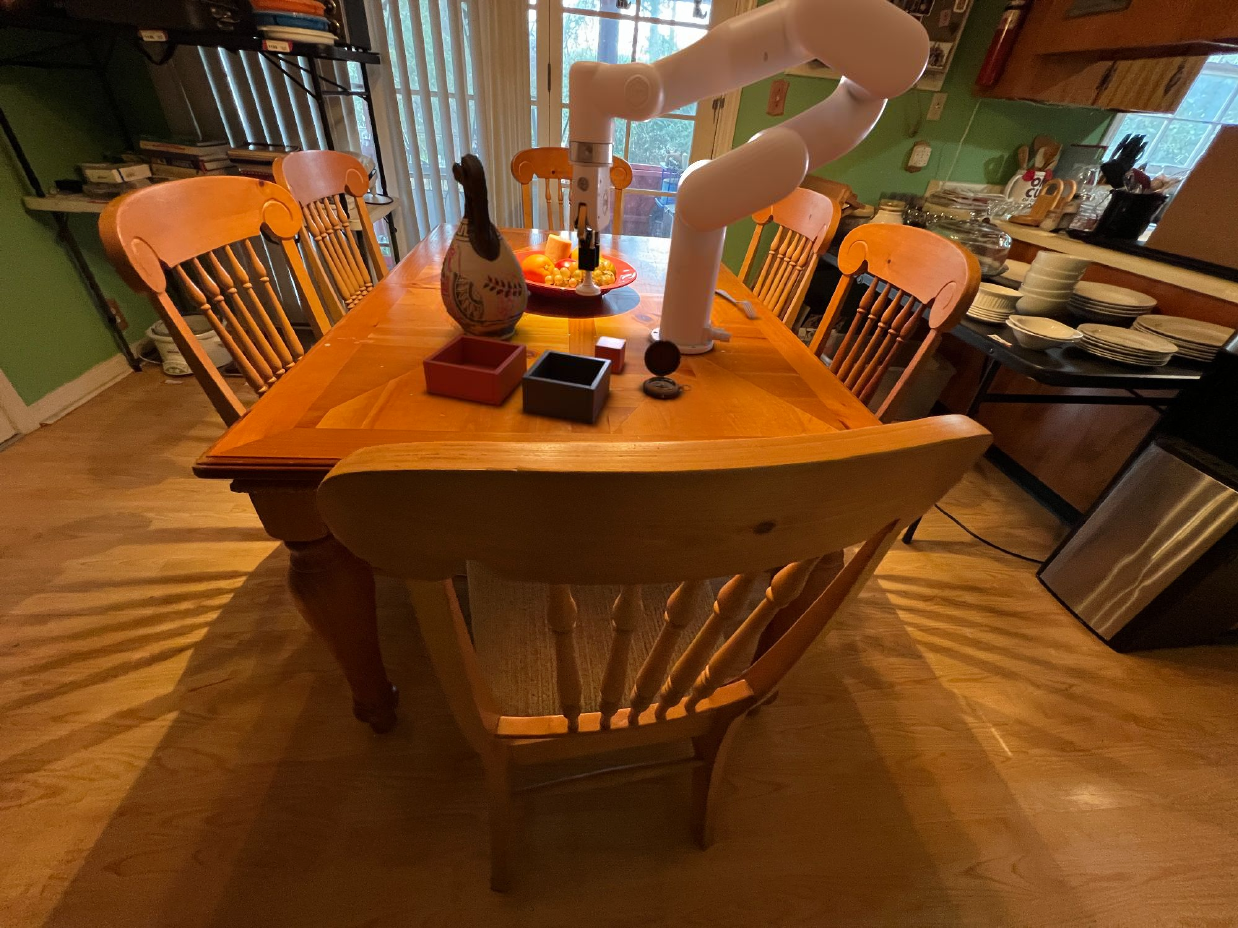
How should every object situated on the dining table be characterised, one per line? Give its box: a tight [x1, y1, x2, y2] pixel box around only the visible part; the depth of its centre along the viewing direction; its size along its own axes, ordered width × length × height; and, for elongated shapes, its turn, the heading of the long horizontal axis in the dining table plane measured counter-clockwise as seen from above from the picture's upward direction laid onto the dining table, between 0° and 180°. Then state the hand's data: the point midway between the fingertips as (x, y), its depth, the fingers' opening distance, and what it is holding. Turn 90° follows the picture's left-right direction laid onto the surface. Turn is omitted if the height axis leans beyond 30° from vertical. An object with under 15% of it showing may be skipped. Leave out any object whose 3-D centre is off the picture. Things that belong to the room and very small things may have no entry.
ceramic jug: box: [439, 153, 529, 341], centre depth 88 cm, size 17×15×30 cm
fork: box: [715, 289, 758, 319], centre depth 126 cm, size 3×21×3 cm, turn 15°
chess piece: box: [574, 270, 602, 297], centre depth 95 cm, size 5×5×10 cm
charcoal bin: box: [521, 349, 612, 425], centre depth 76 cm, size 11×11×6 cm
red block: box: [594, 335, 627, 374], centre depth 88 cm, size 4×4×4 cm
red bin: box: [422, 333, 528, 406], centre depth 79 cm, size 12×12×5 cm
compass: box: [642, 339, 692, 399], centre depth 82 cm, size 8×8×7 cm
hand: (588, 267), depth 95 cm, fingers closed on chess piece
